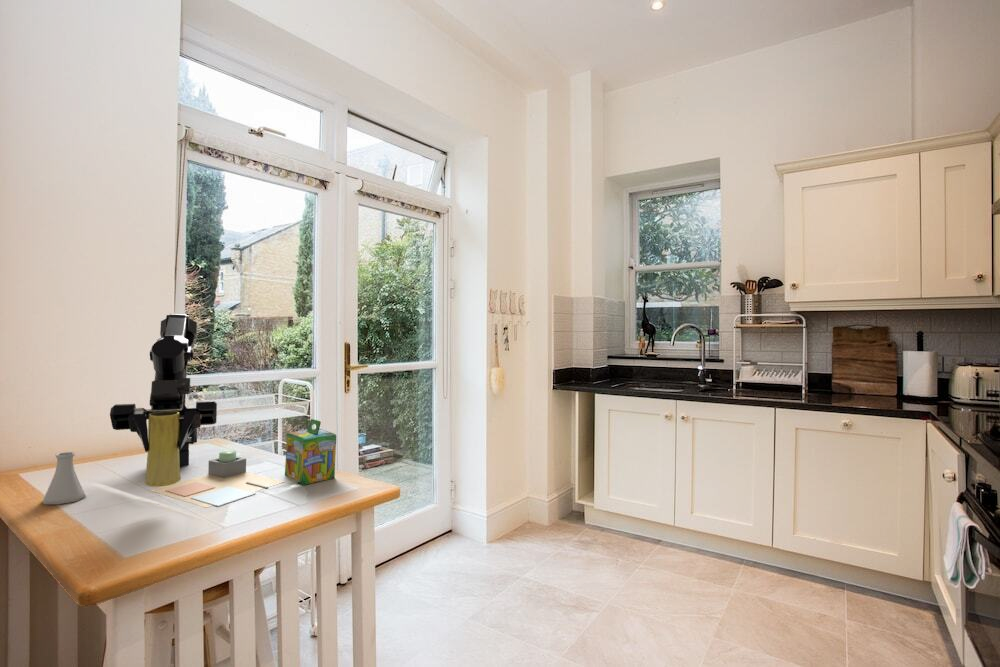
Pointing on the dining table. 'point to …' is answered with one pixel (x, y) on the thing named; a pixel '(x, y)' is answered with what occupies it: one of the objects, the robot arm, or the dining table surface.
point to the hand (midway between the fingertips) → (163, 449)
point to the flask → (64, 482)
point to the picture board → (217, 488)
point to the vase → (163, 449)
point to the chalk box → (310, 454)
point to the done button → (227, 456)
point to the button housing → (227, 467)
